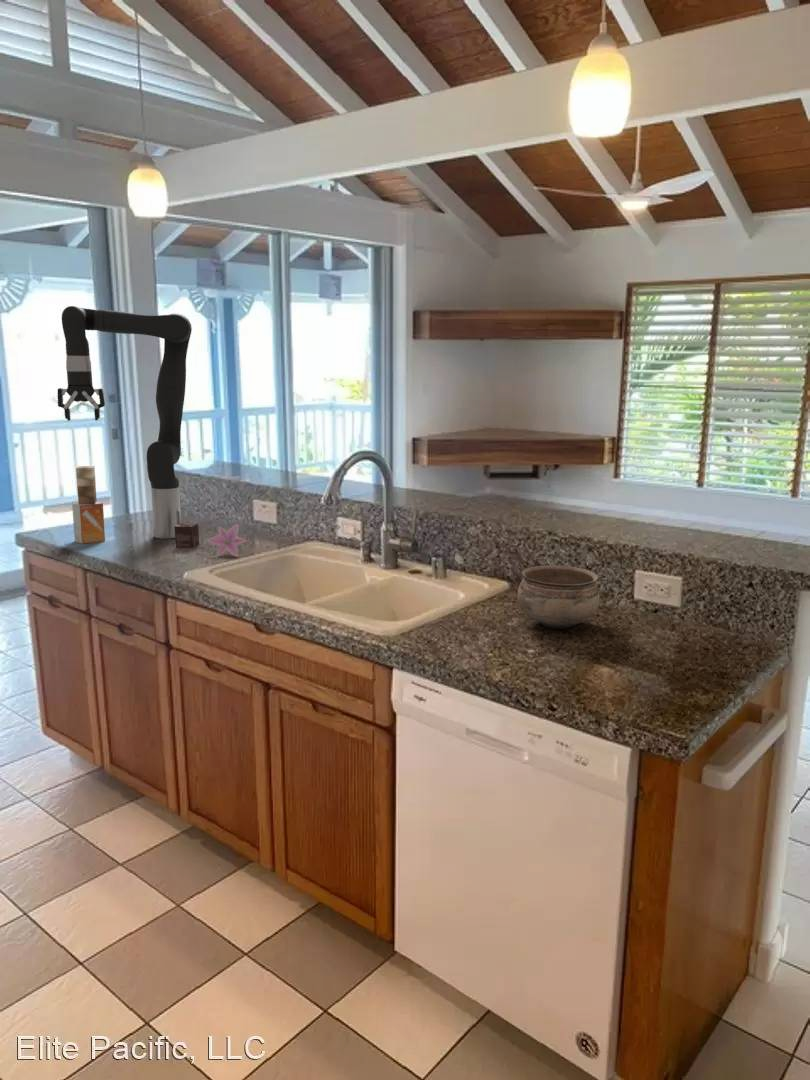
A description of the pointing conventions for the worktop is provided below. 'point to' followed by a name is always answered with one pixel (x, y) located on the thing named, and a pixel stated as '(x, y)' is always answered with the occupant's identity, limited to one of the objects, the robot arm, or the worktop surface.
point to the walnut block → (87, 494)
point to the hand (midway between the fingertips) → (82, 420)
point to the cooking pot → (558, 595)
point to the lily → (227, 540)
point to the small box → (88, 522)
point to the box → (186, 535)
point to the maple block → (85, 476)
